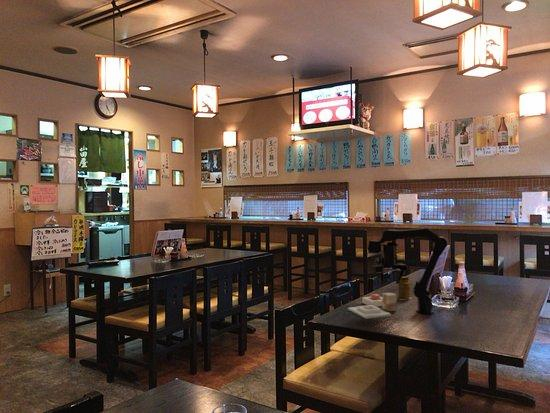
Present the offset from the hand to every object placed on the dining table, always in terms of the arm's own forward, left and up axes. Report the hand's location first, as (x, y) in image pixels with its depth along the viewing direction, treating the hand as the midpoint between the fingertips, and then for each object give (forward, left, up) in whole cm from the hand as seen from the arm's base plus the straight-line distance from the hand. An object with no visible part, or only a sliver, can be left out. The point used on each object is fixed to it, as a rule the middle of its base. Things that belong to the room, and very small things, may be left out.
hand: (389, 284), depth 222 cm
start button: (+12, +1, -11) cm, 16 cm away
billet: (0, 0, -13) cm, 13 cm away
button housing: (+12, +1, -13) cm, 18 cm away
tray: (-2, +13, -13) cm, 18 cm away
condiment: (+19, -21, -13) cm, 31 cm away
